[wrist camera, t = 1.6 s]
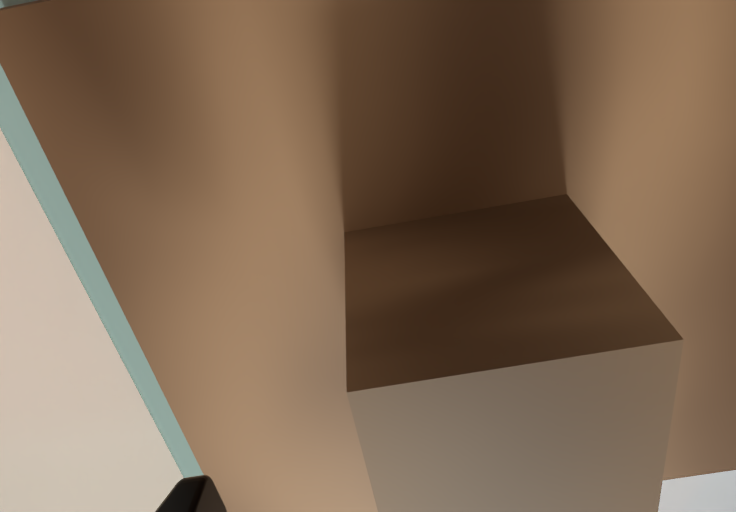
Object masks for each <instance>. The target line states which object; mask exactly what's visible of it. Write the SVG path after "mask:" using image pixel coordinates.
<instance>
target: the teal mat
mask: <svg viewBox="0 0 736 512" xmlns="http://www.w3.org/2000/svg"><path fill="white" fill-rule="evenodd" d="M33 1H38V0H0V8H3V7H8V6H13V5H18V4H23V3H28V2H33ZM0 128H1V130H2V132H3V134H4V136H5V138H6V140H7V142H8V143H9V145H10V147H11V149H12V151H13V153H14V155H15V157H16V159H17V161H18V162H19V164H20V166H21V168H22V170H23V172H24V174H25V176H26V178H27V180H28V182H29V183H30V185H31V187H32V189H33V191H34V193H35V195H36V197H37V199H38V201H39V203H40V204H41V206H42V208H43V210H44V212H45V214H46V216H47V218H48V220H49V222H50V223H51V225H52V227H53V229H54V231H55V233H56V235H57V237H58V239H59V241H60V243H61V244H62V246H63V248H64V250H65V252H66V254H67V256H68V258H69V260H70V262H71V263H72V265H73V267H74V269H75V271H76V273H77V275H78V277H79V279H80V281H81V283H82V284H83V286H84V288H85V290H86V292H87V294H88V296H89V298H90V300H91V302H92V304H93V305H94V307H95V309H96V311H97V313H98V315H99V317H100V319H101V321H102V323H103V324H104V326H105V328H106V330H107V332H108V334H109V336H110V338H111V340H112V342H113V344H114V345H115V347H116V349H117V351H118V353H119V355H120V357H121V359H122V361H123V363H124V364H125V366H126V368H127V370H128V372H129V374H130V376H131V378H132V380H133V382H134V384H135V385H136V387H137V389H138V391H139V393H140V395H141V397H142V399H143V401H144V403H145V405H146V406H147V408H148V410H149V412H150V414H151V416H152V418H153V420H154V422H155V424H156V425H157V427H158V429H159V431H160V433H161V435H162V437H163V439H164V441H165V443H166V445H167V446H168V448H169V450H170V452H171V454H172V456H173V458H174V460H175V462H176V464H177V465H178V467H179V469H180V471H181V473H182V475H183V477H184V478H187V477H194V476H200V475H204V474H203V472H202V470H201V468H200V466H199V464H198V462H197V460H196V458H195V456H194V454H193V452H192V450H191V448H190V446H189V444H188V442H187V440H186V438H185V436H184V434H183V432H182V430H181V428H180V426H179V424H178V422H177V420H176V418H175V416H174V414H173V412H172V410H171V408H170V406H169V404H168V402H167V400H166V398H165V396H164V394H163V392H162V390H161V388H160V386H159V384H158V382H157V380H156V377H155V375H154V373H153V371H152V369H151V367H150V365H149V363H148V361H147V359H146V357H145V355H144V353H143V351H142V349H141V347H140V345H139V343H138V341H137V339H136V337H135V335H134V333H133V331H132V329H131V327H130V325H129V323H128V321H127V319H126V317H125V315H124V313H123V311H122V309H121V307H120V305H119V303H118V301H117V299H116V297H115V295H114V293H113V291H112V289H111V287H110V285H109V282H108V280H107V278H106V276H105V274H104V272H103V270H102V268H101V266H100V264H99V262H98V260H97V258H96V256H95V254H94V252H93V250H92V248H91V246H90V244H89V242H88V240H87V238H86V236H85V234H84V232H83V230H82V228H81V226H80V224H79V222H78V220H77V218H76V216H75V214H74V212H73V210H72V208H71V206H70V204H69V202H68V200H67V198H66V196H65V194H64V192H63V190H62V188H61V185H60V183H59V181H58V179H57V177H56V175H55V173H54V171H53V169H52V167H51V165H50V163H49V161H48V159H47V157H46V155H45V153H44V151H43V149H42V147H41V145H40V143H39V141H38V139H37V137H36V135H35V133H34V131H33V129H32V127H31V125H30V123H29V121H28V119H27V117H26V115H25V113H24V111H23V109H22V107H21V105H20V103H19V101H18V99H17V97H16V95H15V93H14V91H13V88H12V86H11V84H10V82H9V80H8V78H7V76H6V74H5V72H4V70H3V68H2V66H1V64H0Z"/></svg>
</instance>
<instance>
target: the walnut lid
mask: <svg viewBox="0 0 736 512" xmlns="http://www.w3.org/2000/svg"><path fill="white" fill-rule="evenodd" d="M0 64H1V66H2V68H3V70H4V72H5V74H6V76H7V78H8V80H9V82H10V84H11V86H12V88H13V91H14V93H15V95H16V97H17V99H18V101H19V103H20V105H21V107H22V109H23V111H24V113H25V115H26V117H27V119H28V121H29V123H30V125H31V127H32V129H33V131H34V133H35V135H36V137H37V139H38V141H39V143H40V145H41V147H42V149H43V151H44V153H45V155H46V157H47V159H48V161H49V163H50V165H51V167H52V169H53V171H54V173H55V175H56V177H57V179H58V181H59V183H60V185H61V188H62V190H63V192H64V194H65V196H66V198H67V200H68V202H69V204H70V206H71V208H72V210H73V212H74V214H75V216H76V218H77V220H78V222H79V224H80V226H81V228H82V230H83V232H84V234H85V236H86V238H87V240H88V242H89V244H90V246H91V248H92V250H93V252H94V254H95V256H96V258H97V260H98V262H99V264H100V266H101V268H102V270H103V272H104V274H105V276H106V278H107V280H108V282H109V285H110V287H111V289H112V291H113V293H114V295H115V297H116V299H117V301H118V303H119V305H120V307H121V309H122V311H123V313H124V315H125V317H126V319H127V321H128V323H129V325H130V327H131V329H132V331H133V333H134V335H135V337H136V339H137V341H138V343H139V345H140V347H141V349H142V351H143V353H144V355H145V357H146V359H147V361H148V363H149V365H150V367H151V369H152V371H153V373H154V375H155V377H156V380H157V382H158V384H159V386H160V388H161V390H162V392H163V394H164V396H165V398H166V400H167V402H168V404H169V406H170V408H171V410H172V412H173V414H174V416H175V418H176V420H177V422H178V424H179V426H180V428H181V430H182V432H183V434H184V436H185V438H186V440H187V442H188V444H189V446H190V448H191V450H192V452H193V454H194V456H195V458H196V460H197V462H198V464H199V466H200V468H201V470H202V472H203V474H204V475H208V476H209V477H211V479H212V480H213V482H214V484H215V486H216V488H217V490H218V492H219V494H220V496H221V499H222V501H223V503H224V505H225V507H226V510H227V512H658V506H659V500H660V493H661V486H662V480H668V479H675V478H682V477H689V476H696V475H703V474H710V473H717V472H723V471H730V470H736V0H38V1H33V2H28V3H23V4H18V5H13V6H8V7H3V8H0Z"/></svg>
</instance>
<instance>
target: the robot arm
mask: <svg viewBox="0 0 736 512" xmlns="http://www.w3.org/2000/svg"><path fill="white" fill-rule="evenodd" d="M156 512H227V510H226V507H225V505H224V503H223V501H222V499H221V496H220V494H219V492H218V490H217V488H216V486H215V484H214V482H213V480H212V479H211V477H209V476H208V475H200V476H194V477H187V478H183V479H182V480H180V481H179V482H178V483H177V484H176V485H175V487H174V488H173V489H172V491H171V492H170V493H169V494H168V496H167V497H166V498H165V500H164V501H163V502H162V504H161V505H160V506H159V508H158V509H157V510H156Z"/></svg>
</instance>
